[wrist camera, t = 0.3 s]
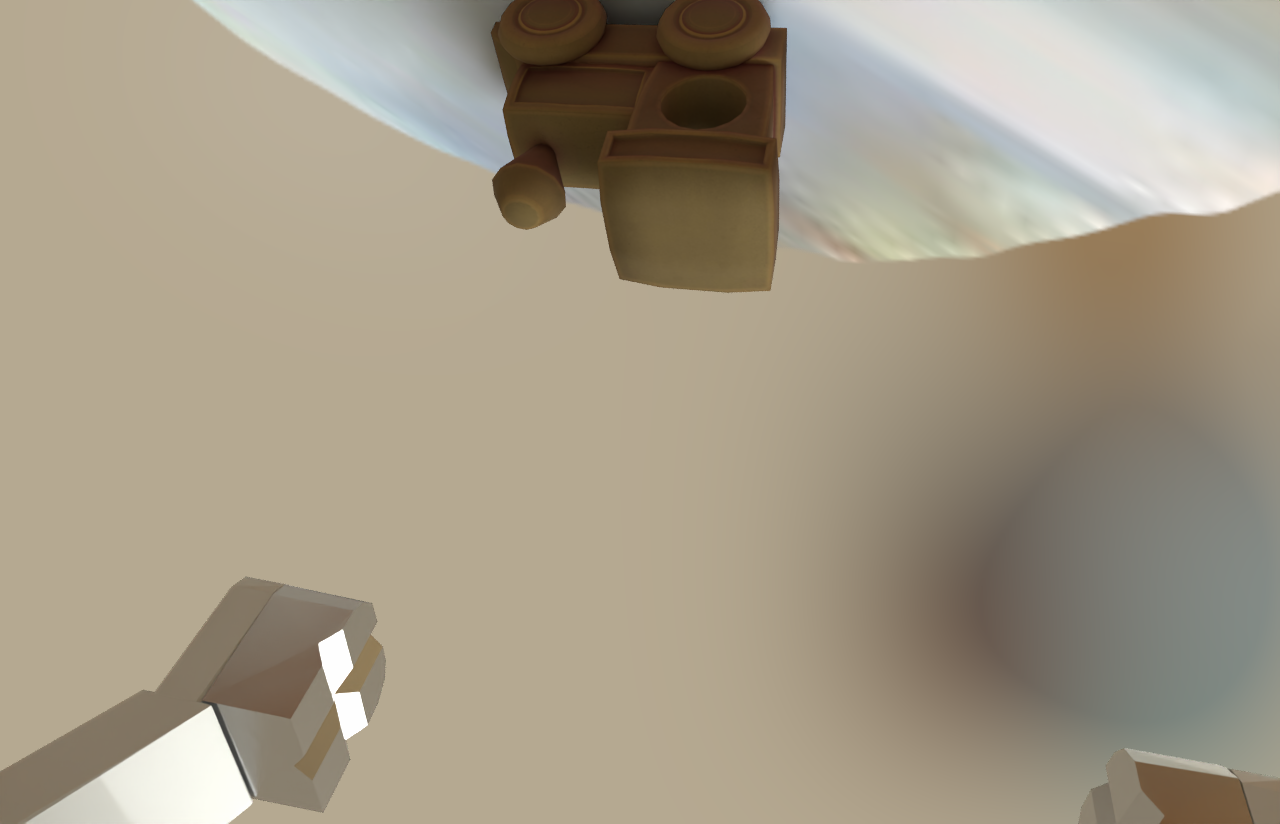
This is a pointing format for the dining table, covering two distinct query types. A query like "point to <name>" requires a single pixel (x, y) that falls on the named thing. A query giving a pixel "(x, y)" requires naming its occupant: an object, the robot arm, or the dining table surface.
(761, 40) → the wooden toy train
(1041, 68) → the dining table surface
